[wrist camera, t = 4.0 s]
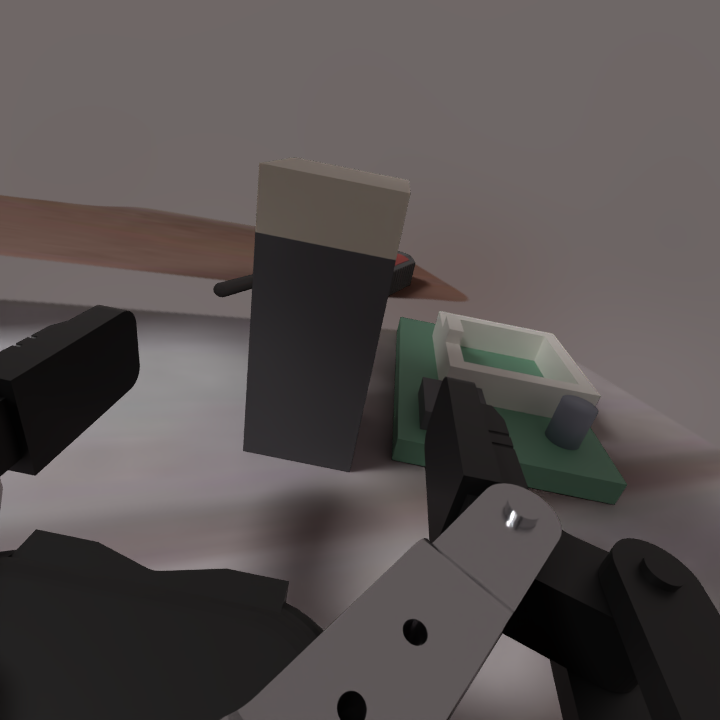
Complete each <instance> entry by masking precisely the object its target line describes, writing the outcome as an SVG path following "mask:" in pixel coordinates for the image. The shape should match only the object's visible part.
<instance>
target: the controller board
mask: <svg viewBox="0 0 720 720" xmlns="http://www.w3.org/2000/svg"><path fill="white" fill-rule="evenodd" d="M444 377H451V378H456V379H460V380H465V381H470V382H474V383H475V384H476V388H477V391H478V395H479V398H480V402H481V403H482V404H486V405H491V406H493V407H494V409H495V410H496V411H497V412H498V413H499V414H500V415H501V416H502V418H503V419H504V420H505V423H506V426H507V429H508V431H509V437H511V440H512V443H513V446H514V447H513V449H515V452H516V454H517V457H518V460H519V463H520V466H521V469H522V472H523V475H524V477H525V480H526V483H527V486H528V487H530V488H535V489H540V490H545V491H550V492H555V493H560V494H565V495H570V496H574V497H579V498H584V499H589V500H594V501H599V502H604V503H609V504H614V505H615V503H616V501H617V500H618V498H619V497H620V495H621V494H622V492H623V491H624V489H625V488H626V486H627V483H626V482H625V480H624V479H623V477H622V476H621V474H620V473H619V471H618V470H617V468H616V466H615V465H614V463H613V462H612V460H611V459H610V457H609V456H608V454H607V452H606V451H605V449H604V448H603V446H602V445H601V443H600V442H599V440H598V439H597V437H596V435H595V434H594V432H593V431H592V429H591V428H590V427H591V425H592V423H593V421H594V419H595V417H596V416H597V414H598V409H597V408H596V407H595V406H596V405H597V403H598V401H599V399H600V397H601V396H600V394H599V393H598V392H597V390H596V389H595V388H594V386H593V385H592V384H591V383H590V381H589V380H588V379H587V377H586V376H585V375H584V373H583V372H582V371H581V369H580V368H579V367H578V366H577V364H576V363H575V362H574V360H573V359H572V358H571V356H570V355H569V354H568V353H567V351H566V350H565V349H564V347H563V346H562V345H561V344H560V342H559V341H558V339H557V338H556V337H555V336H554V334H551V333H546V332H541V331H537V330H532V329H526V328H522V327H516V326H512V325H507V324H502V323H497V322H492V321H486V320H482V319H477V318H472V317H467V316H462V315H457V314H452V313H447V312H442V311H439V314H438V318H437V321H436V324H433V323H428V322H423V321H418V320H413V319H408V318H404V317H401V318H400V322H399V326H398V330H397V344H396V369H395V394H394V418H393V443H392V460H396V461H401V462H406V463H411V464H416V465H421V466H425V453H424V444H425V436H426V431H427V427H428V423H429V420H430V417H431V414H432V411H433V408H434V404H435V401H436V398H437V395H438V392H439V389H440V386H441V383H442V381H443V379H444Z"/></svg>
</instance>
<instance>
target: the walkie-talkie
mask: <svg viewBox="0 0 720 720" xmlns="http://www.w3.org/2000/svg"><path fill="white" fill-rule="evenodd" d="M414 267H415V261H414V260H413V258H412V257H411V256H410V255H408V254H406V253H403V252H400V251H398V253H397V258H396V262H395V267H394V271H393V276H392V280H391V285H390V290H389V294H388V296H390V294H391V295H392V294H393V293H395V292H397V291H399V290H400V289H402V288H404V287H406V286H408V285H410V283H411V279H412V275H413V271H414ZM252 285H253V274H252V275H248V276H244V277H240V278H236V279H233V280H229V281H225V282H221V283H217V284H216V285H215V286H214V293H215V294H216V295H217V296H219V297H226V296H229V295H232V294H236V293H239V292H242V291H246V290H249V289H252Z"/></svg>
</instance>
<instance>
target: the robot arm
mask: <svg viewBox="0 0 720 720" xmlns="http://www.w3.org/2000/svg"><path fill="white" fill-rule="evenodd" d="M139 369H140V363H139V351H138V339H137V327H136V319H135V317H134V315H133V313H132V312H130V311H126V310H121V309H116V308H112V307H107V306H102V305H97V306H95V307H93V308H91V309H89V310H87V311H85V312H83V313H82V314H80V315H78V316H76V317H74V318H72V319H70V320H69V321H65V322H62V323H58V324H54V325H51V326H48V327H46V328H44V329H43V330H41V331H39V332H37V333H35V334H33V335H31V338H29V337H27V338H25V339H23V340H22V341H20V342H18V343H16V346H13V345H12V346H10V347H8V348H6V349H4V350H2V351H1V352H0V476H1V475H3V474H4V473H5V472H6V471H7V470H11V471H15V472H20V473H25V474H30V475H37V474H38V473H39V472H40V471H41V470H42V469H43V468H44V467H45V466H46V465H48V464H49V463H50V462H51V461H52V460H53V459H54V458H55V457H56V456H57V455H59V454H60V453H61V452H62V451H63V450H64V449H65V448H66V447H67V446H68V445H70V444H71V443H72V442H73V441H74V440H75V439H76V438H77V437H78V436H79V435H81V434H82V433H83V432H84V431H85V430H86V429H87V428H88V427H89V426H90V425H92V424H93V423H94V422H95V421H96V420H97V419H98V418H99V417H100V416H102V415H103V414H104V413H105V412H106V411H107V410H108V409H109V408H110V407H111V406H113V405H114V404H115V403H116V402H117V401H118V400H119V399H120V398H121V397H122V396H124V395H125V394H126V393H127V392H128V391H129V390H130V389H131V388H132V387H133V386H134V384H135V382H136V380H137V378H138V375H139ZM513 447H514V446H513V443H512V440H511V437H509V431H508V429H507V426H506V423H505V420H504V419H503V418H502V416H501V415H500V414H499V413H498V412H497V411H496V410H495V409H494V407H493V406H491V405H486V404H482V403H481V402H480V398H479V395H478V391H477V388H476V384H475V383H474V382H470V381H465V380H460V379H456V378H451V377H444V379H443V381H442V383H441V386H440V389H439V392H438V395H437V398H436V401H435V404H434V408H433V411H432V414H431V417H430V420H429V423H428V427H427V431H426V436H425V444H424V453H425V470H426V488H427V505H428V523H429V540H430V541H429V540H428V539H427V538H424V539H421V540H420V541H418V542H417V543H416V544H415V545H414V546H412V547H411V548H410V549H409V550H408V551H407V552H406V553H405V554H404V555H403V556H402V557H401V558H400V559H399V560H398V561H397V562H396V563H395V564H394V565H393V566H391V567H390V568H389V569H388V570H387V571H386V572H385V573H384V574H383V575H382V576H381V577H380V578H379V579H378V580H377V581H376V582H375V583H374V584H373V585H372V586H371V587H370V588H368V589H367V590H366V591H365V592H364V593H363V594H362V595H361V596H360V597H359V598H358V599H357V600H356V601H355V602H354V603H353V604H352V605H351V606H350V607H349V608H348V609H346V610H345V611H344V612H343V613H342V614H341V615H340V616H339V617H338V618H337V619H336V620H335V621H334V622H333V623H332V624H331V625H330V626H329V627H328V628H327V629H326V630H325V631H323V630H322V629H321V628H320V627H319V626H318V625H317V624H316V623H315V622H314V621H313V620H312V619H311V618H309V617H308V616H307V615H305V614H304V613H302V612H301V611H300V610H298V609H297V608H295V607H293V606H291V605H289V604H287V603H286V597H287V590H288V584H289V581H284V580H279V579H274V578H270V577H265V576H260V575H255V574H250V573H245V572H240V571H236V570H231V569H204V570H177V571H154V570H150V569H148V568H146V567H144V566H142V565H140V564H138V563H136V562H135V561H133V560H131V559H129V558H127V557H125V556H123V555H121V554H119V553H118V552H116V551H114V550H112V549H110V548H108V547H106V546H104V545H103V544H101V543H99V542H95V541H90V540H85V539H80V538H76V537H71V536H66V535H61V534H56V533H51V532H46V531H42V530H37V529H36V530H35V531H34V532H33V533H32V534H31V535H30V536H29V537H28V538H27V540H26V541H25V542H24V543H23V544H22V545H21V546H20V547H19V548H18V549H17V550H10V551H3V552H0V720H449V719H450V718H451V716H452V714H453V713H454V711H455V709H456V708H457V706H458V705H459V703H460V701H461V700H462V698H463V696H464V695H465V693H466V692H467V690H468V688H469V687H470V685H471V683H472V682H473V680H474V679H475V677H476V675H477V674H478V672H479V671H480V669H481V667H482V666H483V664H484V662H485V661H486V659H487V658H488V656H489V654H490V653H491V651H492V650H493V648H494V646H495V645H496V643H497V641H498V640H499V638H500V637H501V635H502V633H503V634H505V635H507V636H508V637H510V638H512V639H514V640H516V641H518V642H519V643H521V644H523V645H525V646H527V647H528V648H530V649H532V650H534V651H536V652H538V653H539V654H541V655H543V656H545V657H547V658H548V659H550V663H551V668H552V672H553V677H554V681H555V686H556V690H557V695H558V699H559V704H560V708H561V713H562V717H563V720H720V614H719V613H718V611H717V610H716V608H715V606H714V605H713V603H712V601H711V600H710V598H709V596H708V595H707V593H706V591H705V590H704V588H703V586H702V585H701V583H700V582H699V581H698V579H697V578H696V577H695V576H694V574H693V573H692V572H691V571H690V570H689V569H688V568H687V567H686V566H685V565H684V564H682V563H681V562H680V561H679V560H678V559H676V558H675V557H674V556H672V555H671V554H669V553H668V552H666V551H665V550H663V549H661V548H659V547H657V546H656V545H653V544H651V543H649V542H646V541H642V540H639V539H631V538H627V539H622V540H619V541H618V542H617V543H616V544H615V545H614V546H613V548H612V549H611V550H610V552H607V551H604V550H602V549H600V548H598V547H596V546H593V545H591V544H589V543H587V542H585V541H582V540H580V539H578V538H576V537H574V536H572V535H570V534H568V533H566V532H564V531H563V530H562V528H561V523H560V521H559V518H558V516H557V515H556V513H555V512H554V510H553V509H552V508H551V507H550V506H549V505H548V503H546V502H545V501H544V500H543V499H542V498H540V497H539V496H538V495H536V494H535V493H533V492H531V491H529V489H528V486H527V483H526V480H525V477H524V475H523V472H522V469H521V466H520V463H519V460H518V457H517V454H516V452H515V449H513ZM2 492H3V486H2V483H1V480H0V509H1V500H2Z"/></svg>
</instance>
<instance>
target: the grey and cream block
mask: <svg viewBox="0 0 720 720" xmlns="http://www.w3.org/2000/svg"><path fill="white" fill-rule="evenodd" d="M257 197H258V198H257V213H256V231H255V249H254V267H253V285H252V302H251V320H250V338H249V356H248V373H247V391H246V409H245V427H244V445H243V451H247V452H252V453H257V454H262V455H267V456H272V457H277V458H282V459H287V460H292V461H297V462H302V463H307V464H312V465H316V466H321V467H326V468H331V469H336V470H341V471H346V472H350V468H351V463H352V458H353V454H354V449H355V445H356V440H357V436H358V431H359V426H360V422H361V417H362V413H363V408H364V404H365V399H366V394H367V390H368V385H369V381H370V376H371V372H372V367H373V363H374V358H375V353H376V349H377V344H378V340H379V335H380V331H381V326H382V321H383V317H384V312H385V308H386V303H387V299H388V294H389V290H390V285H391V280H392V276H393V271H394V267H395V262H396V258H397V253H398V248H399V244H400V239H401V235H402V230H403V225H404V221H405V216H406V212H407V207H408V203H409V198H410V183H409V180H406V179H400V178H396V177H390V176H386V175H381V174H376V173H371V172H366V171H360V170H356V169H350V168H346V167H340V166H336V165H331V164H326V163H321V162H316V161H311V160H306V159H301V158H296V157H293V158H287V159H281V160H275V161H269V162H263V163H259V178H258V196H257Z"/></svg>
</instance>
